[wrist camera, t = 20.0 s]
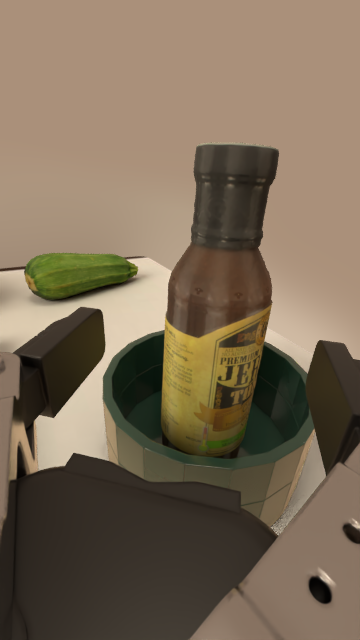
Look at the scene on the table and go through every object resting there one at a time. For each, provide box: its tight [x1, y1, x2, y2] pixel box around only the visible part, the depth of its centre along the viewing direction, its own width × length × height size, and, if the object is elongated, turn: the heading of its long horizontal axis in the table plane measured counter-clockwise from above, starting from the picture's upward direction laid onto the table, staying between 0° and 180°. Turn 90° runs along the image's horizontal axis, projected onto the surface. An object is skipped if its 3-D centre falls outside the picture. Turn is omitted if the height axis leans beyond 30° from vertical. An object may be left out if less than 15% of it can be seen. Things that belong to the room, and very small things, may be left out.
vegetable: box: [24, 253, 138, 300], centre depth 51 cm, size 7×7×20 cm
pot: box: [103, 330, 315, 527], centre depth 22 cm, size 14×14×7 cm
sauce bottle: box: [161, 143, 279, 459], centre depth 18 cm, size 6×6×20 cm
